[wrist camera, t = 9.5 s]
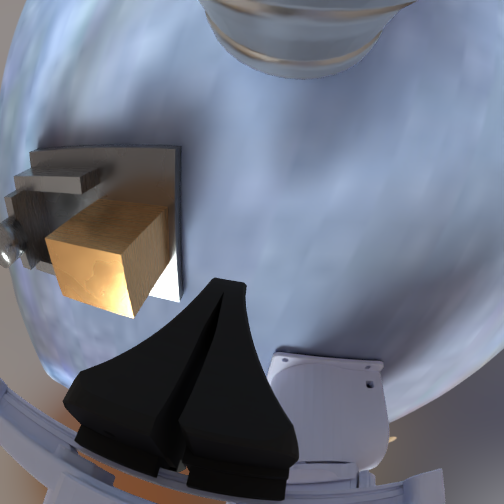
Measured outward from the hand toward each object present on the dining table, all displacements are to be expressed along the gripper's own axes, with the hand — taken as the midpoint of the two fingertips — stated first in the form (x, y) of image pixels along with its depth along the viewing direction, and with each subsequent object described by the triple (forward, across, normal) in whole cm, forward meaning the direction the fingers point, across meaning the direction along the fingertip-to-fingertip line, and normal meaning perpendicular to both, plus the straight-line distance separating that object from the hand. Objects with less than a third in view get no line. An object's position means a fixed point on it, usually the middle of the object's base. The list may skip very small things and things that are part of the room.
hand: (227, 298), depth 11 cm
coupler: (+5, +10, 0) cm, 12 cm away
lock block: (+4, +7, 0) cm, 8 cm away
